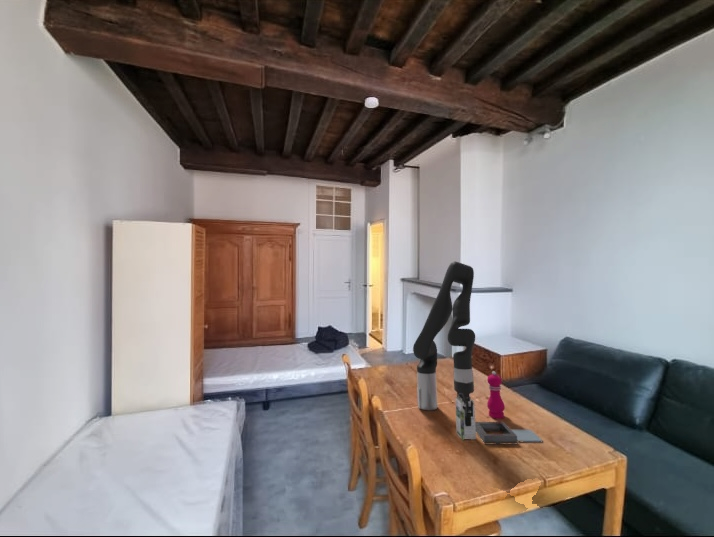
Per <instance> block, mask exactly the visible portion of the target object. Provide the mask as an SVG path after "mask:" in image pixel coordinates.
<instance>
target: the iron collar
mask: <svg viewBox="0 0 714 537" xmlns="http://www.w3.org/2000/svg"><path fill="white" fill-rule="evenodd" d="M475 429H476V432H477V433H476V434H477V435H478V437H479V436H480V437H479V438H480V440H481V439H482V440H483V441H482V440H481V441H482V442H484V443H496V444H495V445H501V444H500V443H517V444H518V441H517V436H516V434H515V433H514V432H513V431H512V430H513V429H511V428H510V427H509V426H508V425H507V424H506V423H505V422H504V421H475ZM487 432H502V433H487ZM484 443H483V444H484Z"/></svg>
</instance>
